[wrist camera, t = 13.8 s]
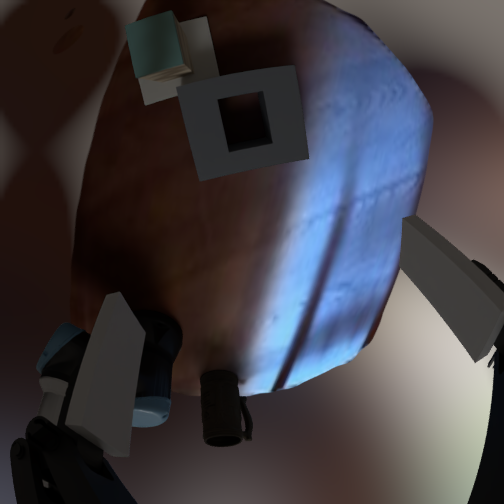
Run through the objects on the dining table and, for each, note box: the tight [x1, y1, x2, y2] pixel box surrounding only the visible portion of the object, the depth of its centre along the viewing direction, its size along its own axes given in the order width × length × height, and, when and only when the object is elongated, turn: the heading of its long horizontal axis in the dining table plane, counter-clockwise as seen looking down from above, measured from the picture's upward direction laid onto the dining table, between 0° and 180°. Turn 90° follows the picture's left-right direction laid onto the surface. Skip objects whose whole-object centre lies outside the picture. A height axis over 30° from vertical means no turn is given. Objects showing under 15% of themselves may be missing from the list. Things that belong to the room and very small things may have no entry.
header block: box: [176, 65, 309, 181], centre depth 38 cm, size 16×14×6 cm
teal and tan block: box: [125, 10, 195, 83], centre depth 27 cm, size 5×6×15 cm
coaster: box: [138, 17, 220, 105], centre depth 34 cm, size 12×12×1 cm
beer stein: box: [200, 370, 253, 447], centre depth 67 cm, size 15×11×20 cm
